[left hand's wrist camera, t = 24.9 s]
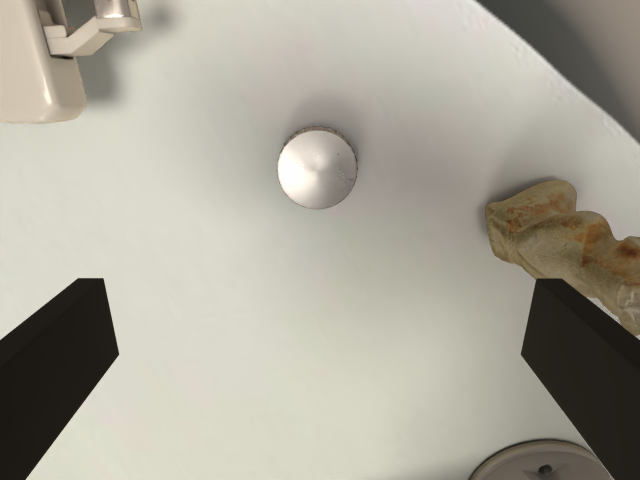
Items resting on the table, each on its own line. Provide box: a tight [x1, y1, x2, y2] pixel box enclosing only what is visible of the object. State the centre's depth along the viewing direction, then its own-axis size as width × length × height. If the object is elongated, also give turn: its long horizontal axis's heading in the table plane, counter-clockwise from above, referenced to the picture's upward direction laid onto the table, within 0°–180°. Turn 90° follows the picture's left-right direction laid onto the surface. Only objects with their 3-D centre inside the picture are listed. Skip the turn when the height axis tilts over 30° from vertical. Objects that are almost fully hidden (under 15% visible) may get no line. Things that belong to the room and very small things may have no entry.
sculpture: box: [485, 180, 640, 336], centre depth 26 cm, size 6×7×15 cm
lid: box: [277, 126, 358, 209], centre depth 31 cm, size 6×6×2 cm
